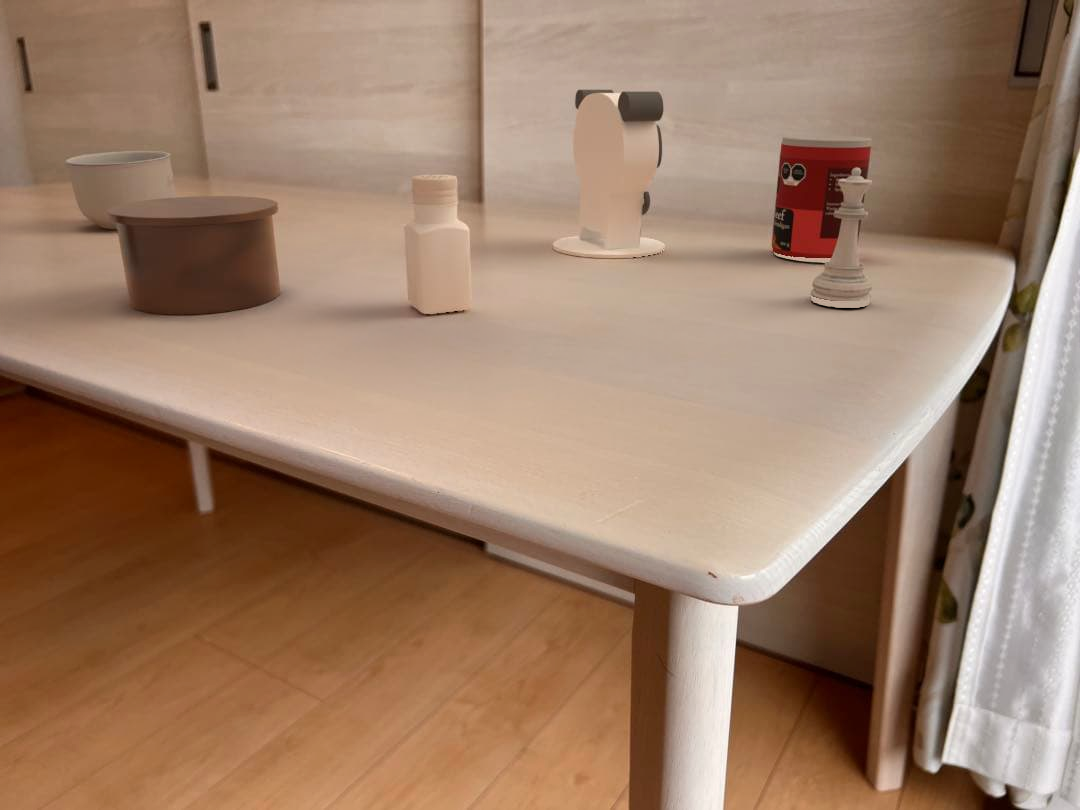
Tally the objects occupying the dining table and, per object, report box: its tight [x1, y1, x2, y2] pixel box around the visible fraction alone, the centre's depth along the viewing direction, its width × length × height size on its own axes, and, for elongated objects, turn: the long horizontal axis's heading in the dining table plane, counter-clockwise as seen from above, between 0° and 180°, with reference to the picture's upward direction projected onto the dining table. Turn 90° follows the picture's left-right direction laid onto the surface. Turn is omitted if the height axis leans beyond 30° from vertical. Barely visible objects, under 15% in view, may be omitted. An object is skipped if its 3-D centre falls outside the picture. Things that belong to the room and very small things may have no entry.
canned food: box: [771, 134, 872, 258], centre depth 81 cm, size 8×8×11 cm
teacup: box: [64, 150, 176, 231], centre depth 99 cm, size 14×11×8 cm
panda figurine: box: [552, 89, 666, 259], centre depth 84 cm, size 12×11×15 cm
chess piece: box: [810, 168, 873, 301], centre depth 64 cm, size 4×4×10 cm
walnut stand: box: [107, 195, 281, 316], centre depth 66 cm, size 12×12×7 cm
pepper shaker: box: [403, 174, 472, 315], centre depth 62 cm, size 4×4×10 cm
